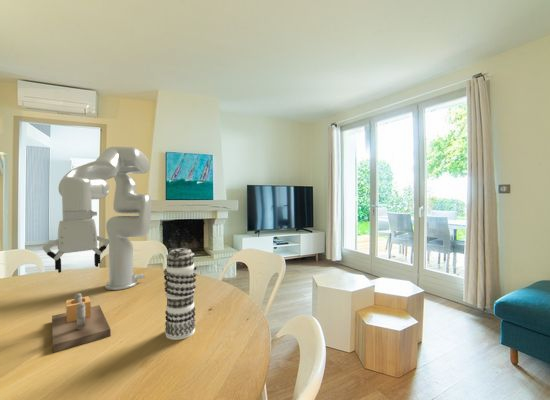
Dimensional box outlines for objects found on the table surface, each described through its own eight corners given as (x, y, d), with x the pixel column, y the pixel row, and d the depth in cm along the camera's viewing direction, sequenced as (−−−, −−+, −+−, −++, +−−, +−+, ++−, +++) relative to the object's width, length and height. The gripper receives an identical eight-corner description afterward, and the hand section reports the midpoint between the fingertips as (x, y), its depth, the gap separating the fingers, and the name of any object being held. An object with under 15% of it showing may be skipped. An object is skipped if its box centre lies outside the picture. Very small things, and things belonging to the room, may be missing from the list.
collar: (88, 310, 91) (88, 296, 91) (90, 317, 86) (90, 301, 86) (66, 315, 87) (66, 300, 87) (67, 322, 82) (66, 306, 82)
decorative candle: (171, 324, 85) (171, 246, 85) (200, 325, 85) (200, 246, 85) (158, 340, 76) (157, 252, 76) (190, 340, 76) (190, 253, 76)
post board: (99, 310, 95) (99, 284, 95) (110, 335, 78) (110, 303, 78) (51, 321, 87) (51, 292, 87) (52, 352, 70) (52, 316, 70)
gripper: (107, 213, 94) (107, 261, 95) (41, 216, 83) (43, 271, 84) (110, 215, 89) (111, 266, 89) (41, 218, 77) (43, 277, 78)
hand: (78, 268), depth 87 cm, fingers open, 9 cm apart
